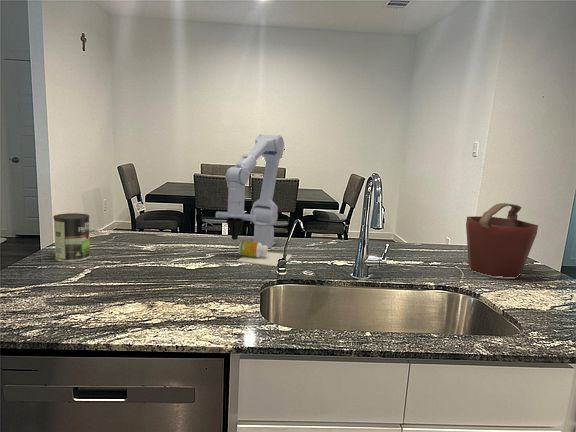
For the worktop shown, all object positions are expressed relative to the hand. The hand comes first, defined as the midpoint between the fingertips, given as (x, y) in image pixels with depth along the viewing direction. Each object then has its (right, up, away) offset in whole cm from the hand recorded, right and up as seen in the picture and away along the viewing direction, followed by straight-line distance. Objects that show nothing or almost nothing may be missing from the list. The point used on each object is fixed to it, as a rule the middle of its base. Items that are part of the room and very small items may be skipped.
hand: (234, 239), depth 148 cm
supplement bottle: (+2, -3, +1) cm, 3 cm away
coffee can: (-52, -6, -12) cm, 53 cm away
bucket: (+93, -12, 0) cm, 94 cm away
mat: (+11, -7, 0) cm, 13 cm away
